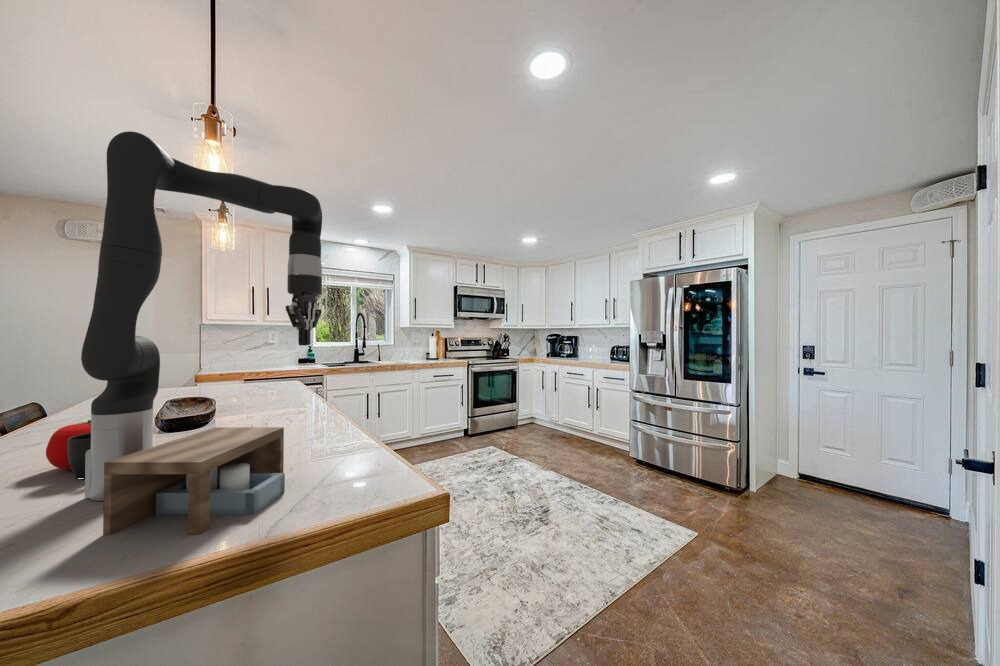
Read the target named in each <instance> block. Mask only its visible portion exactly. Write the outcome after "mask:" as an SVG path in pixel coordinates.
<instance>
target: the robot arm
mask: <svg viewBox="0 0 1000 666" xmlns="http://www.w3.org/2000/svg"><path fill="white" fill-rule="evenodd" d="M106 176H107V177H106V179H107V180H106V181H107V185H106V186H107V190H106V191H107V192H106V206H105V212H104V221H103V229H102V237H101V242H100V247H99V248H100V249H99V257H98V267H97V278H96V279H97V280H96V286H95V292H94V298H93V299H94V300H93V305H92V311H91V315H90V319H89V323H88V325H87V326H88V327H87V329H86V334H85V337H84V341H83V343H82V348H81V358H80V359H81V365H82V368H83V370H84V371H85V373H87V374H88V376H89V377H91V378H93V379H95V380H97V381H107V383H106V385H105V388H104V390H103V391H102V392H101V393H100V394H99V395H98V396H96V397H95V398H94V399H93V400H92V401H91V404H90V405H91V406H90V420H91V449H90V450H87V451H86V454H85V479H84V498H86V499H90V501H94V502H104V462H107V461H110V460H113V459H116V458H119V457H123V456H126V455H129V454H132V453H135V452H138V451H142V450H145V449H148V448H151V447H154V446H153V443H154V439H153V438H154V435H153V434H154V402H155V398H156V397H157V395H158V392H159V385H160V384H159V382H160V372H161V371H160V370H161V356H160V354H161V353H160V350H159V348H158V347H157V344H155V342H154V341H153V340H151V339H150V338H147V337H145V336H141V335H136V330H137V321H138V317H139V314H140V313H139V312H140V311H141V308H142V307H143V304H144V303H145V301H146V300H147V299H148V297H149V296H150V294H151V292H152V291H153V290H154V288H155V286H156V285H157V283H158V280H159V278H160V273H161V266H162V258H163V245H162V237H161V233H160V228H159V225H158V221H157V216H156V212H155V194H156V190H159V191H165V192H166V191H167V192H173V193H181V194H186V195H194V196H199V197H204V198H209V199H213V200H216V201H220V202H224V203H228V204H231V205H233V206H234V205H235V206H238V207H242V208H246V209H248V210H254V211H257V212H260V213H263V214H264V213H265V214H268V215H269V214H270V215H271V214H275V213H279V214H282V215H283V214H284V215H287V216H291V234H290V235H289V240H288V260H287V288H286V290H287V293H288V294H290V295H292V298H291V304H289V305H286V306H285V311H286V313H287V315H288V319H289V321H290V323H291V325H292V327H293V328H296V330H298V339H297V340H298V342H297V343H298V346H310V345H311V332H312V330H313V329H314V328H315V329H316V327H317V325H318V322H319V319H320V317H321V314H322V313H323V312H322V309H321V308H320V309H319V308H317V305H318V303H317V297H318V296H321V295H322V294H323V289H322V288H323V286H322V285H323V265H322V241H321V235H322V228H323V227H322V226H323V212H322V207H321V203H320V200H319V199H318V197H316V195H315V194H313V193H311V192H310V191H307V190H306V189H305V190H304V189H302V188H298V187H293V186H287V185H278V184H273V183H272V184H271V183H269V182H266V181H263V180H260V179H257V178H252V177H250V176H245V175H241V174H236V173H229V172H218V171H211V170H207V169H201V168H200V167H195V166H193V165H189V164H187V163H184V162H182V161H180V160H177V159H175V158H173V157H171V155H170V154H168V152H167V151H165V150H164V149H163V148H162V147H161V146H160V145H159V144H158V143H157V142H155V141H154V140H153V139H151V138H150V137H148V136H147V135H145V134H143V133H140V132H136V131H122V132H120V133H117V134H116V135H114V136H113V138H112V139H110V141H109V143H108V145H107V149H106Z"/></svg>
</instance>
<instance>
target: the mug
mask: <svg viewBox="0 0 1000 666" xmlns="http://www.w3.org/2000/svg"><path fill="white" fill-rule="evenodd" d="M90 449H91V433H87V434H81V435H77V436H73V437H70V438H68V440H67V454H68V460H69V463H70V466H71V469H70V470H71V471H72V473H73V475H74V478H75V477H76V478H85V454H86V451H87V450H90ZM76 478H75V479H76Z"/></svg>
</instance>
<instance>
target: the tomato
mask: <svg viewBox="0 0 1000 666" xmlns="http://www.w3.org/2000/svg"><path fill="white" fill-rule="evenodd" d="M87 433H91V419H88V420H87V421H83V422H82V421H81V422H78V423H77V422H76V423H72V424H68V425H66V426H62V427H60V428H58V429H57V430H55V432H53V434H52V435H51V436H50V438H49V441H48V443H47V446H46V448H45V456H46V458H47V459H46V460H47V461H48V463H49V464H51V465H52V466H53V467H55V468H57V469H61V470H62V469H63V470H72V469H71V466H70V463H69V460H68V454H67V440H68V438H70V437H73V436H77V435H81V434H87Z"/></svg>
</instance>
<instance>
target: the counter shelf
mask: <svg viewBox="0 0 1000 666" xmlns="http://www.w3.org/2000/svg"><path fill="white" fill-rule="evenodd" d="M284 434H285V427H284V426H283V427H278V426H274V427H267V426H266V427H258V426H257V427H255V426H254V427H251V426H249V427H248V426H246V427H244V426H243V427H236V426H235V427H233V426H232V427H229V426H227V427H224V426H223V427H217V426H216V427H211V428H208V429H205V430H201V431H199V432H195V433H193V434H190V435H186V436H183V437H180V438H177V439H174V440H170V441H167V442H164V443H161V444H158V445H155V446H153V447H151V448H148V449H145V450H142V451H138V452H135V453H132V454H129V455H126V456H123V457H119V458H116V459H113V460H110V461H107V462H104V501H103V507H102V508H103V509H102V510H103V513H102V515H103V517H102V518H103V520H102V535H104V536H110V535H113V534H115V533H117V532H119V531H120V530H122V529H124V528H126V527H128V526H131V525H133V524H135V523H136V522H138V521H141V520H143V519H144V518H146V517H148V516H151V515H152V514H154V513H156V493H158V492H160V491H162V490H164V489H166V488H168V487H171V486H173V485H175V484H177V483H179V482H182V481H184V480H186V474H189V487H188V515H187V535H202V534H203V533H204V532H206V531H207V530H209V529H210V515H209V514H210V470H211V469H213V468H215V467H217V473H220V469H221V468H223V467H225V466H228V465H232V464H238V463H247V464H250V473H284V460H285V459H284V458H285V456H284V453H285V452H284V447H285V445H284V441H285V438H284V437H285V435H284Z"/></svg>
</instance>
